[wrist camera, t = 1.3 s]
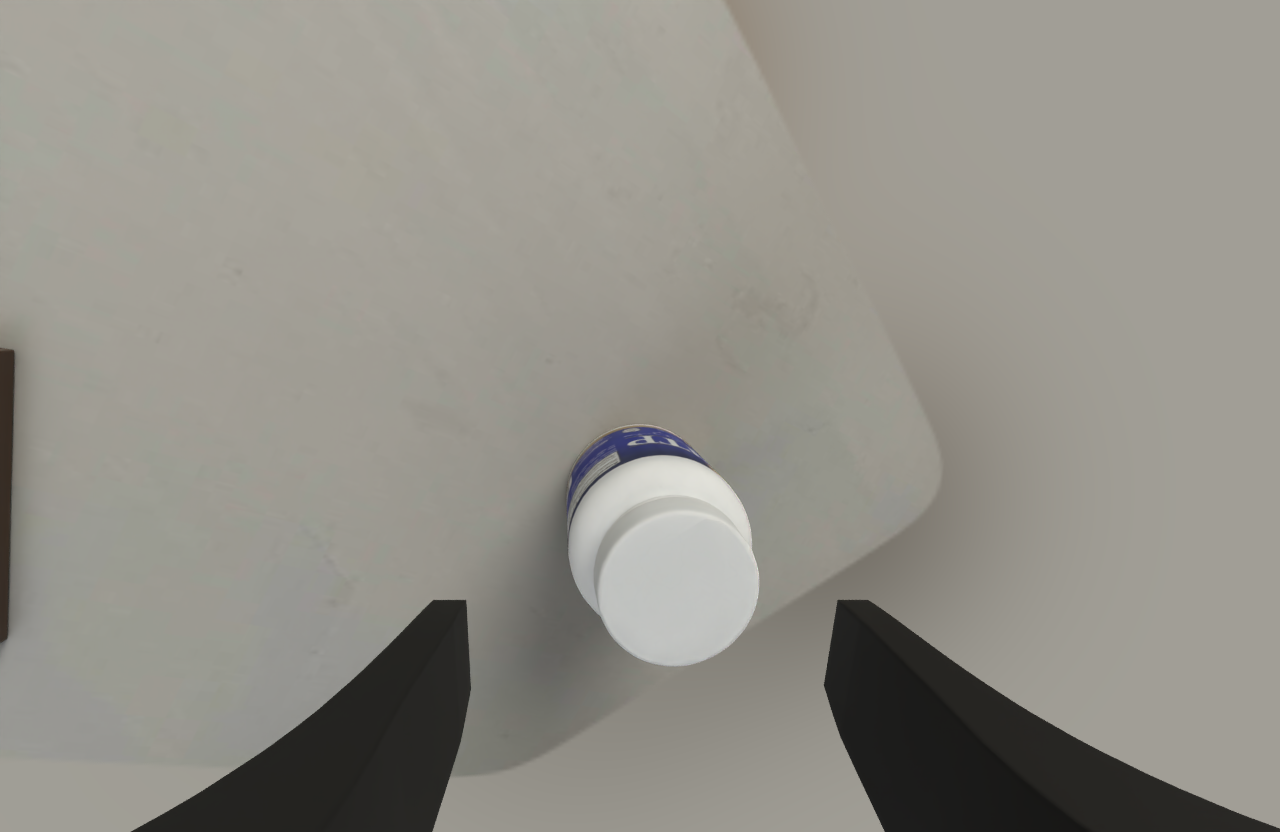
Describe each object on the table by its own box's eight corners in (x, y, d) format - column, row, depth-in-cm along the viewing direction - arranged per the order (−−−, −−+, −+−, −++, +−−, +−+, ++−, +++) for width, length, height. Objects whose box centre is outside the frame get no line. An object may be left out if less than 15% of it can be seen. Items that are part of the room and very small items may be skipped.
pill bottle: (730, 464, 24) (829, 549, 15) (660, 580, 24) (717, 727, 16) (610, 395, 23) (642, 445, 14) (539, 517, 23) (528, 638, 15)
